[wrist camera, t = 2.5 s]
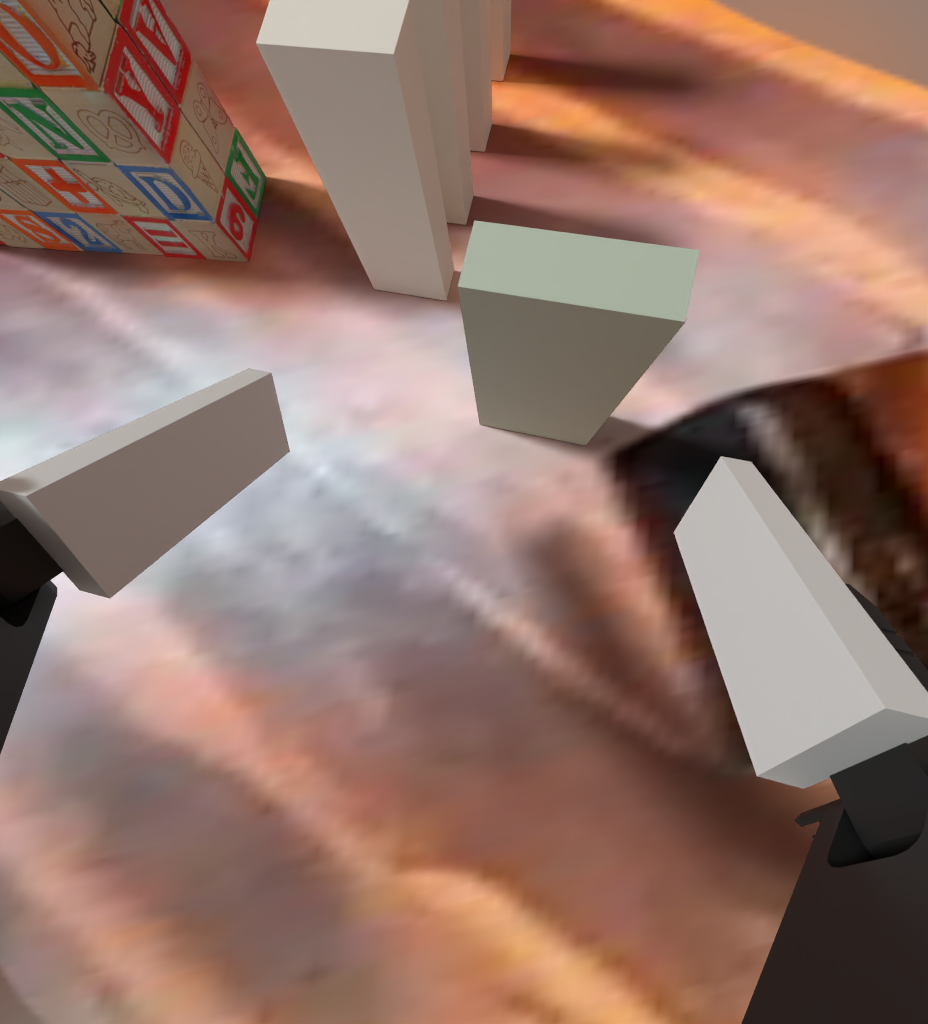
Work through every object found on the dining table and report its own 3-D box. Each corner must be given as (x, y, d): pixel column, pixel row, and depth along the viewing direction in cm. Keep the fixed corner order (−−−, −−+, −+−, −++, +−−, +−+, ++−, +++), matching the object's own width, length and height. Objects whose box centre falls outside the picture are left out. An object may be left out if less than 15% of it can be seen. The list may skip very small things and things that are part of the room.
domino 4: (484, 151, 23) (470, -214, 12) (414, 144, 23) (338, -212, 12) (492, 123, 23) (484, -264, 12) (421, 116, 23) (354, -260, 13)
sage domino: (585, 445, 20) (685, 321, 9) (479, 424, 21) (457, 286, 10) (593, 411, 20) (699, 250, 10) (487, 391, 21) (474, 220, 10)
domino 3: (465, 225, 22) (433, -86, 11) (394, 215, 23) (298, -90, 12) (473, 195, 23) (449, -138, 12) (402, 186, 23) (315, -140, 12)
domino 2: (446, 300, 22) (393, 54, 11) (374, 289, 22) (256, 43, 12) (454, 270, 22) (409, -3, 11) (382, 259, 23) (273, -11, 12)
